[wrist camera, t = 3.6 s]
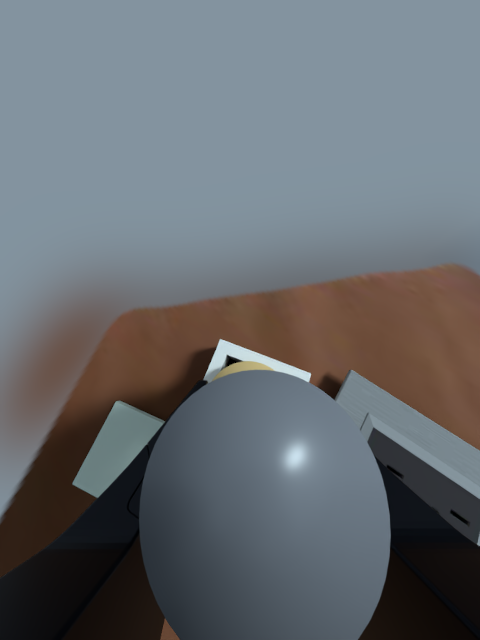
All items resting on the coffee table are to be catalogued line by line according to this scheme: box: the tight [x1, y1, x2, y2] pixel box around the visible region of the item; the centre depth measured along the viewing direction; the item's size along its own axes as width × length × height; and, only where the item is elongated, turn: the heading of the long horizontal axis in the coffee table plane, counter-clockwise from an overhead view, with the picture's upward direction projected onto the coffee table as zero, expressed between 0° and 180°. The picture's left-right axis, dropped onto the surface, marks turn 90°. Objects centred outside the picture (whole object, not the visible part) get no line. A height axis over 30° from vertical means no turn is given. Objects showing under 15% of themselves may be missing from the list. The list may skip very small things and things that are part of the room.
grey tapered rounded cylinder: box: [139, 361, 391, 640], centre depth 9 cm, size 6×6×13 cm
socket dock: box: [203, 339, 311, 383], centre depth 14 cm, size 7×7×3 cm
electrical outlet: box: [334, 370, 480, 546], centre depth 13 cm, size 13×10×2 cm
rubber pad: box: [72, 401, 165, 498], centre depth 14 cm, size 6×6×1 cm
